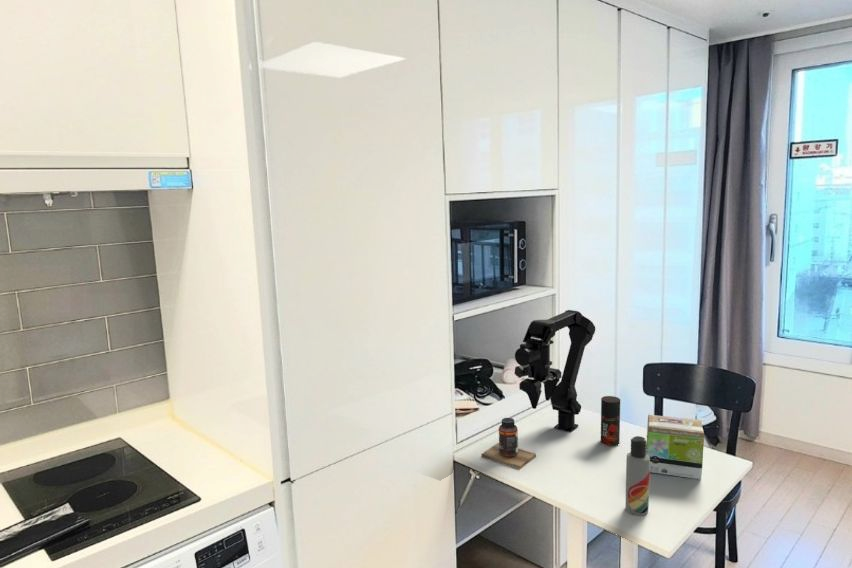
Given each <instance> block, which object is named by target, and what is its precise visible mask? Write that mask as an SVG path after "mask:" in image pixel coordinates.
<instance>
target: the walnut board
mask: <svg viewBox="0 0 852 568" xmlns="http://www.w3.org/2000/svg"><path fill="white" fill-rule="evenodd" d="M480 455H481V458H483V459H485V460H486V459H487V460H490V461H493V462H496V463H499V464H502V463H503V464H502V465H505V464H506V465H505V466H509V465H510V466H509V467H512V466H513V468H515V467H516V468H515V469H518V468H519V470H521V469H523V468H524V467H525V466H526V465H527V464H529V463H530V462H532V460H534V459H535V458H536V457H537V453H534V452H532V451H528V450H524V449H521V448H518V454H517V455H516V456H513V457H505V456H502V455H501V454H500V453H499V442H497V443H496V444H494V445H493V446H491V447H490V448H488V449H487V450H485V451H484V452H482V453H481V454H480Z"/></svg>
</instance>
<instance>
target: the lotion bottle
mask: <svg viewBox="0 0 852 568" xmlns="http://www.w3.org/2000/svg"><path fill="white" fill-rule="evenodd" d="M646 445H647V438H645V437H643V436H638V435H637V436H633V437H631V438H630V452H628V453H626V459H625V460H626V466H625V467H626V468H625V471H626V472H625V510H626V511H627V512H628V513H630V514H631V515H635V516H645V515H647V514H648V513H649V505H650V503H649V502H650V473H651V472H650V457H649V455H647V454H646Z"/></svg>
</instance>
